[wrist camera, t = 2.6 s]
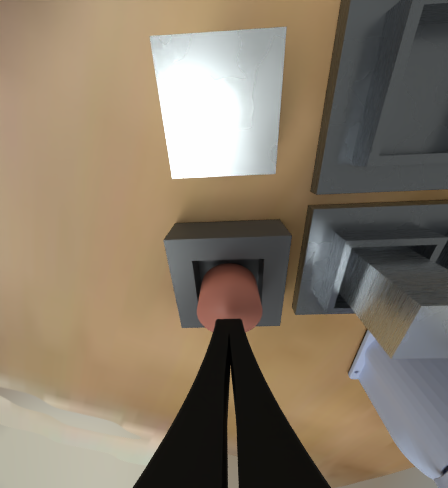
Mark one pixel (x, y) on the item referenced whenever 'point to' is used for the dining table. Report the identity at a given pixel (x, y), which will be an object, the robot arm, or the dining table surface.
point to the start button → (229, 296)
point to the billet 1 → (221, 100)
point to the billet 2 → (399, 300)
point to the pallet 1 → (386, 99)
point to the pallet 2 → (361, 244)
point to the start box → (229, 261)
